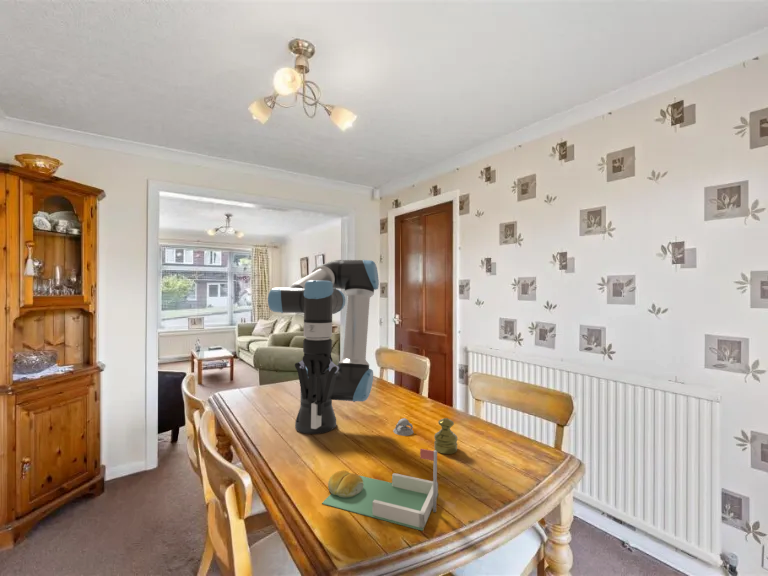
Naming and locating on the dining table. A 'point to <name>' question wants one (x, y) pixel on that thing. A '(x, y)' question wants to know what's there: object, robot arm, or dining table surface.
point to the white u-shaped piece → (412, 484)
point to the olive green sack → (445, 438)
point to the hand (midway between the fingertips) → (316, 426)
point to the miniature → (403, 428)
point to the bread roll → (345, 484)
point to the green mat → (379, 492)
